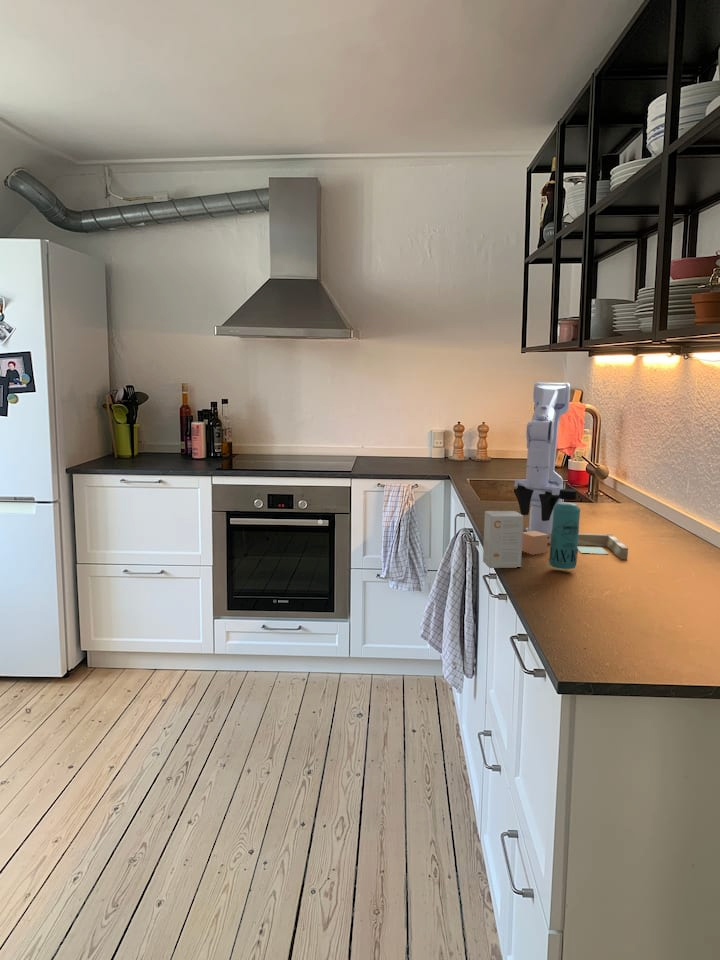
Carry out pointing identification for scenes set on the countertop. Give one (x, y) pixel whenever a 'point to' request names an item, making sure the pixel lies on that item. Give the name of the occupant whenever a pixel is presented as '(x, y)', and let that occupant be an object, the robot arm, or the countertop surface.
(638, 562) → the countertop surface
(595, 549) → the pad
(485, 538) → the small box
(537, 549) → the cube
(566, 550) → the beverage bottle
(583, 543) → the l-shaped wall
